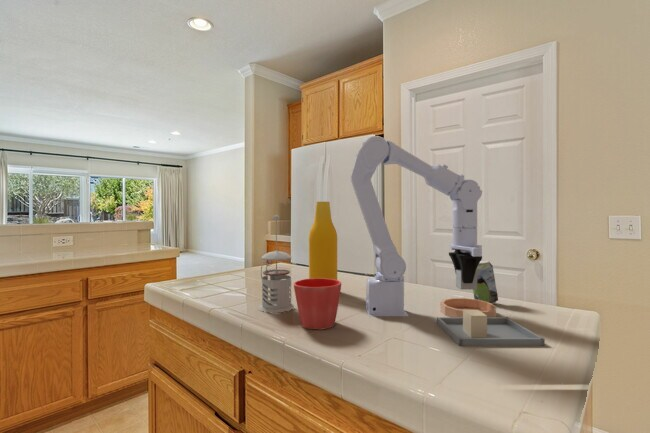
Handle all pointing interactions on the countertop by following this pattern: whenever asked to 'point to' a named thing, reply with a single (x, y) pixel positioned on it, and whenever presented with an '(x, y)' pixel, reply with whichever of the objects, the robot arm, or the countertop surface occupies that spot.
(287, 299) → the french press
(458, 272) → the grey sharp-edged cube
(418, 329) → the countertop surface
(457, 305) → the bowl
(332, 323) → the flower pot
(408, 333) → the countertop surface
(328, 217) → the beer bottle
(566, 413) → the countertop surface
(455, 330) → the tray
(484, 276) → the beverage can
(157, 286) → the countertop surface
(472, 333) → the cream wooden cube
